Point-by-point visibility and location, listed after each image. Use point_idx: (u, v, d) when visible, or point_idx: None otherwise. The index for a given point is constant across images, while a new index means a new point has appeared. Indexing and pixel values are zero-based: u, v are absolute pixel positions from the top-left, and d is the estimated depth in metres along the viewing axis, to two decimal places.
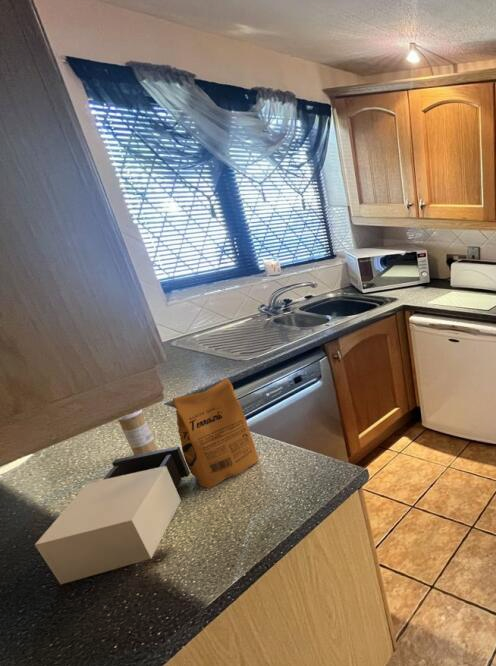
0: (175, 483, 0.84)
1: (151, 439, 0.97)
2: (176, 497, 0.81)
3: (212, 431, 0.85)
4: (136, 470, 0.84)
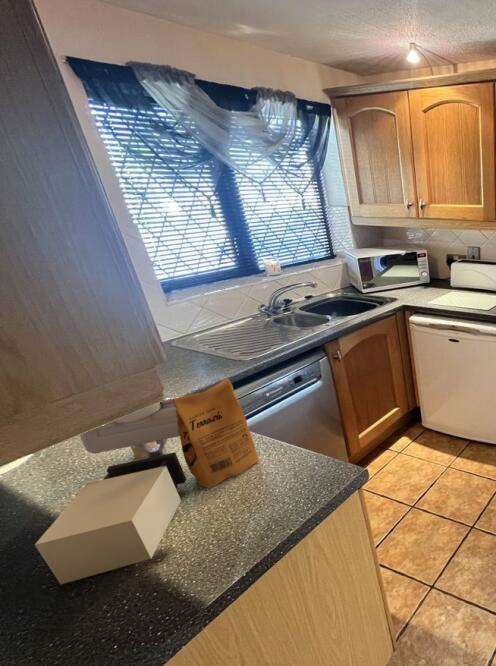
0: None
1: None
2: (176, 497, 0.81)
3: (212, 431, 0.85)
4: None
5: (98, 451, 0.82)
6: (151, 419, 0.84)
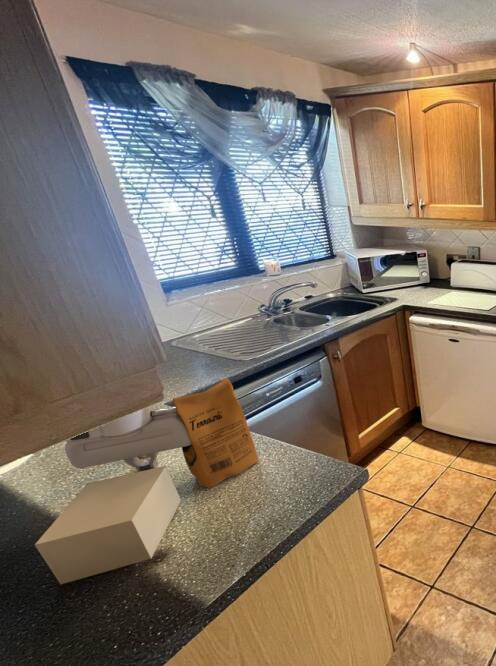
0: None
1: None
2: (176, 497, 0.81)
3: (212, 431, 0.85)
4: None
5: (85, 466, 0.78)
6: (141, 432, 0.80)
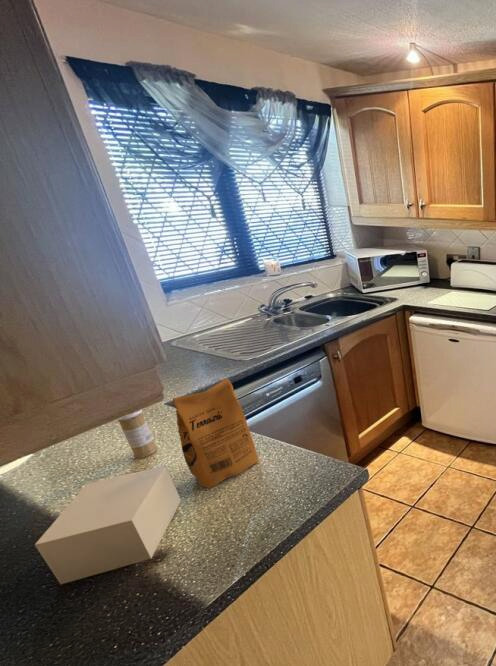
0: None
1: (151, 439, 0.97)
2: (176, 497, 0.81)
3: (212, 431, 0.85)
4: None
5: None
6: None
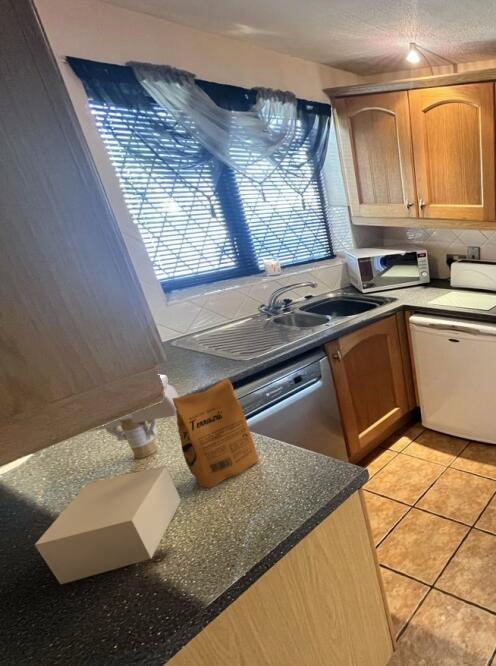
0: None
1: (151, 439, 0.97)
2: (176, 497, 0.81)
3: (212, 431, 0.85)
4: None
5: None
6: None
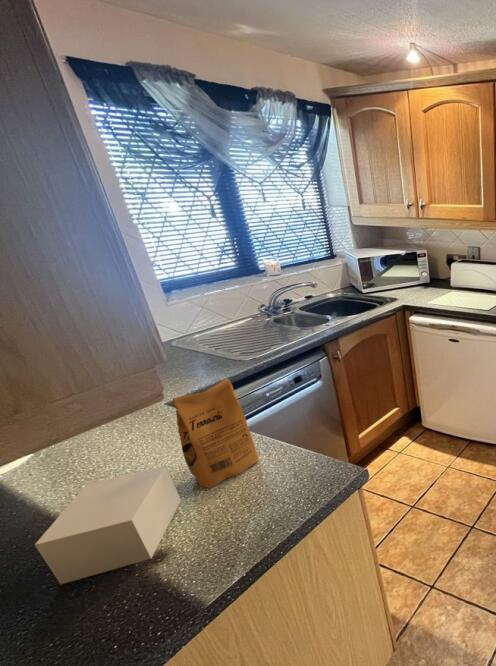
0: None
1: None
2: (176, 497, 0.81)
3: (212, 431, 0.85)
4: None
5: None
6: None
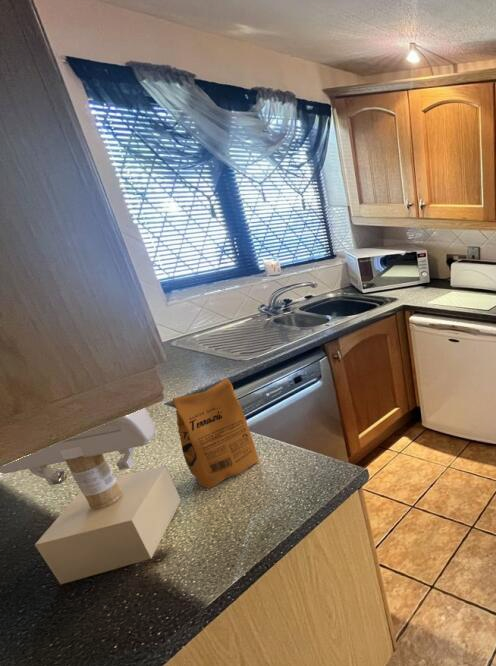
0: None
1: (113, 482, 0.70)
2: (176, 497, 0.81)
3: (212, 431, 0.85)
4: None
5: None
6: None
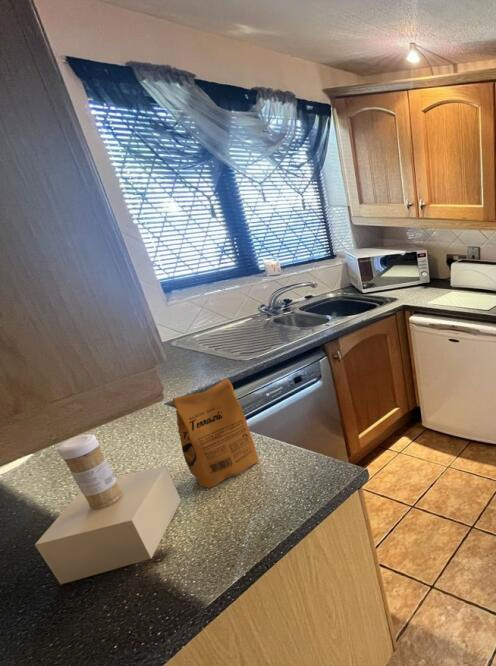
0: None
1: (113, 482, 0.70)
2: (176, 497, 0.81)
3: (212, 431, 0.85)
4: None
5: None
6: None
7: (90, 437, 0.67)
